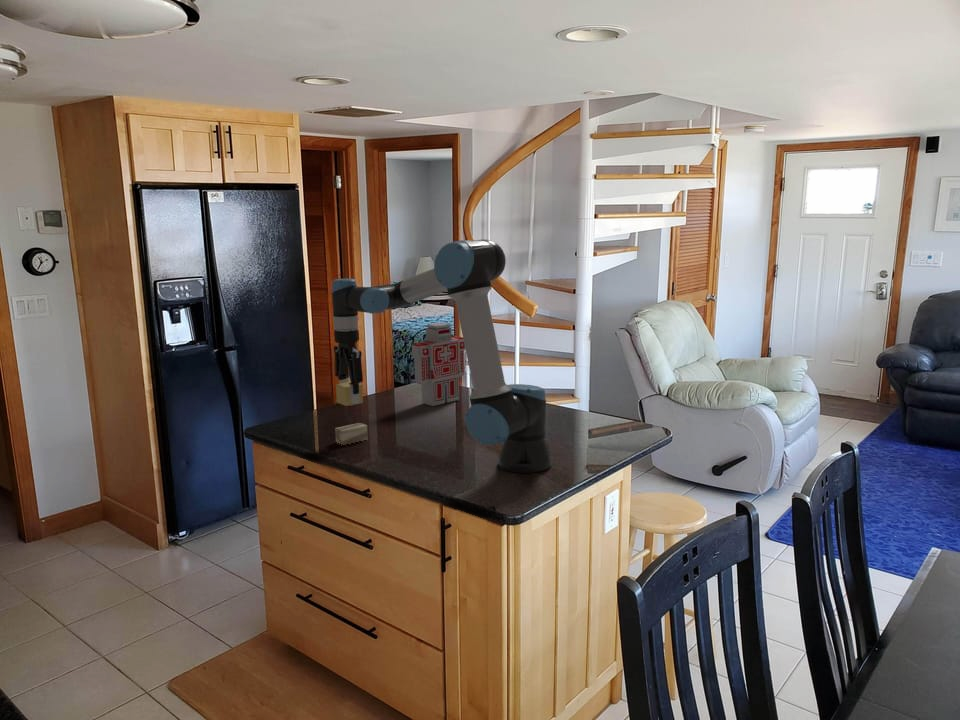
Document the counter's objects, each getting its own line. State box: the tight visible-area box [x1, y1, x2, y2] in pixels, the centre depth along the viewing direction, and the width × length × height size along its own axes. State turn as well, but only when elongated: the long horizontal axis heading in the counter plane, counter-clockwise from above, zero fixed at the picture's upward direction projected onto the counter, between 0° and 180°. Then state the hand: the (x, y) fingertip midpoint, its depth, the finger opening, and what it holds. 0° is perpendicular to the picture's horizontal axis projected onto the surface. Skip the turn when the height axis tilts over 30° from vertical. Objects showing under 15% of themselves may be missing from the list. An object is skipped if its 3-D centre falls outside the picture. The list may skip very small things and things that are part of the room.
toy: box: [411, 322, 466, 407], centre depth 272 cm, size 22×8×30 cm, turn 132°
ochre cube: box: [335, 380, 364, 407], centre depth 227 cm, size 6×6×6 cm
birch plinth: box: [334, 422, 369, 446], centre depth 229 cm, size 4×9×5 cm, turn 129°
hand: (349, 401), depth 227 cm, fingers closed on ochre cube, 6 cm apart
